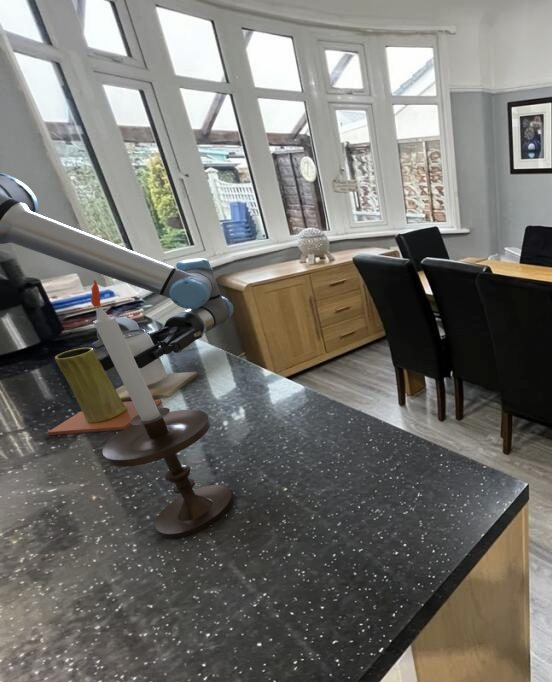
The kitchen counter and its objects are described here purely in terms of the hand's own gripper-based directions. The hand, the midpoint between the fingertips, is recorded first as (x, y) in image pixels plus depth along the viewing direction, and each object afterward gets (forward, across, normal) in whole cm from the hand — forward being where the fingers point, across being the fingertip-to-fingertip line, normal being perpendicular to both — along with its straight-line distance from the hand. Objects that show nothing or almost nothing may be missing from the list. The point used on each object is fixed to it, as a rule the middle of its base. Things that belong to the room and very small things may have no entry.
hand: (119, 363), depth 85 cm
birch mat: (-5, 0, -9) cm, 10 cm away
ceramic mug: (-36, +31, -9) cm, 48 cm away
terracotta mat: (+7, 0, -9) cm, 12 cm away
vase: (+8, 0, -8) cm, 11 cm away
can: (-5, 0, -7) cm, 9 cm away
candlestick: (+36, -35, -9) cm, 51 cm away
